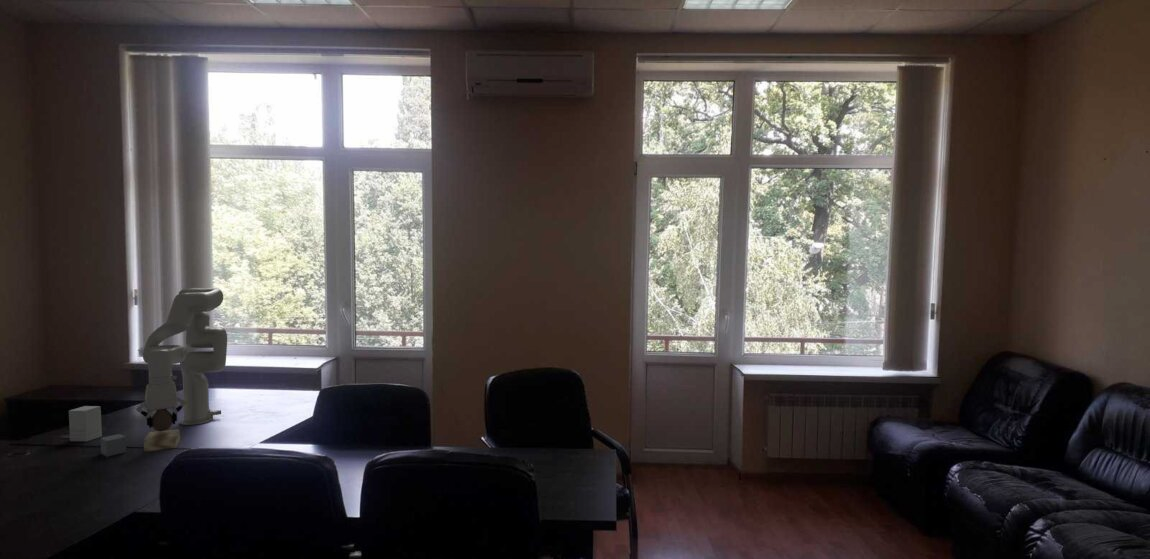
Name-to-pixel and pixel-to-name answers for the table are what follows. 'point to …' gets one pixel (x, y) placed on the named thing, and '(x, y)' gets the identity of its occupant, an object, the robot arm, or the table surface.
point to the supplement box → (85, 423)
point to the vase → (162, 420)
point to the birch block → (161, 440)
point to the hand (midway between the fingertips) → (162, 424)
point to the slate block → (113, 445)
